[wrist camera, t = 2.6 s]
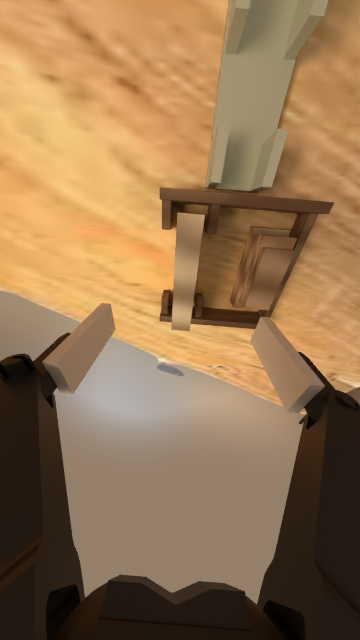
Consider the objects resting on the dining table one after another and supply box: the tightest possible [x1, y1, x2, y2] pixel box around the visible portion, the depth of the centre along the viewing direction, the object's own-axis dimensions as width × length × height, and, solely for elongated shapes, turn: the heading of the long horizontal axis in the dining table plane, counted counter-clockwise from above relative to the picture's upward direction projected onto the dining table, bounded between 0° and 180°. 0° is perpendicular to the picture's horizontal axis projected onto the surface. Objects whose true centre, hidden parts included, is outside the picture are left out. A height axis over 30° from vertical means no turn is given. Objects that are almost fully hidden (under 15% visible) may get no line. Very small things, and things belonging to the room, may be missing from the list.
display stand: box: [205, 0, 329, 193], centre depth 17 cm, size 16×8×6 cm, turn 176°
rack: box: [160, 187, 334, 329], centre depth 28 cm, size 21×23×6 cm
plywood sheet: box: [171, 213, 205, 331], centre depth 26 cm, size 16×3×11 cm, turn 176°
